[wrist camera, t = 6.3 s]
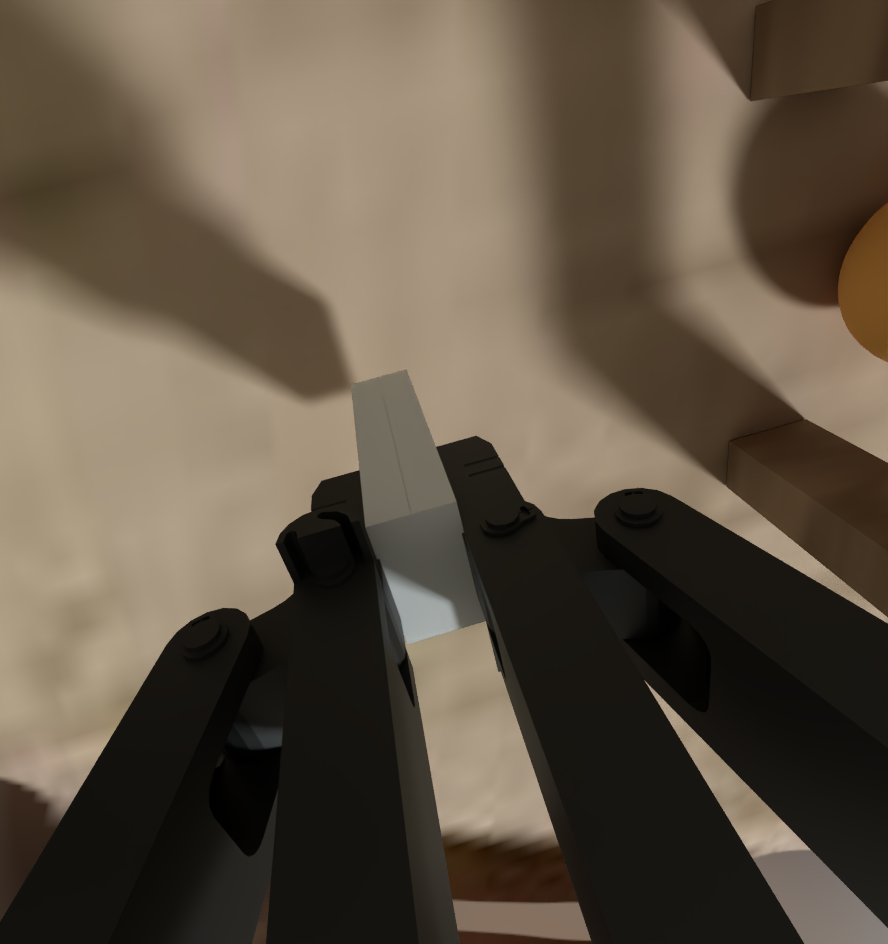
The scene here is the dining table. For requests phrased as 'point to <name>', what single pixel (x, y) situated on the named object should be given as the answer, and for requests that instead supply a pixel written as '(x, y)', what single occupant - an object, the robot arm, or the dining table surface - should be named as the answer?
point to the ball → (867, 285)
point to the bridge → (804, 443)
